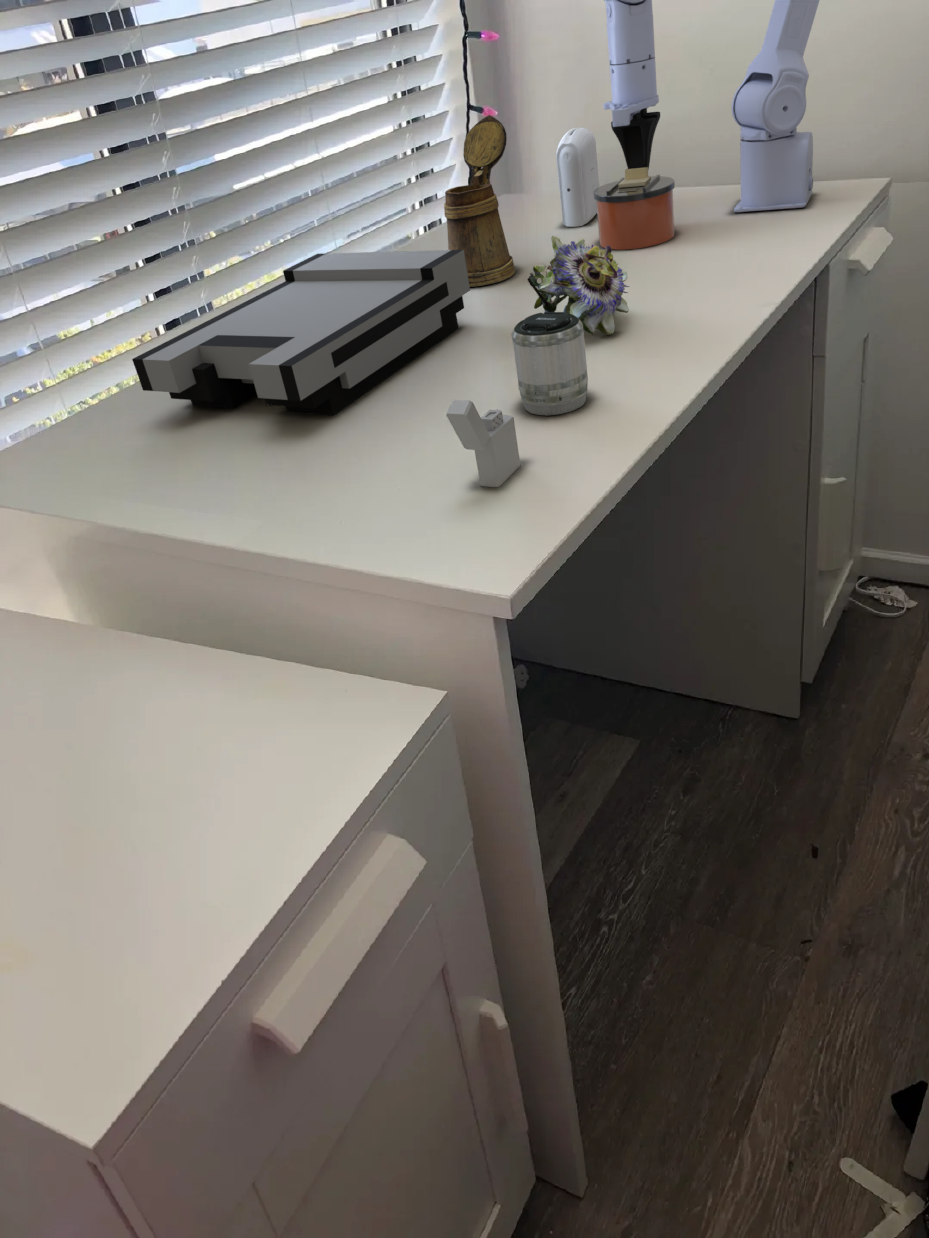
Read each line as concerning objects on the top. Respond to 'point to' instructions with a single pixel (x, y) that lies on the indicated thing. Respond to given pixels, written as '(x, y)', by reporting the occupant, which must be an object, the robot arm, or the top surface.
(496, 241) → the wooden mug
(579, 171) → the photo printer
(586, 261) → the passion flower
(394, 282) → the game console
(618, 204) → the orange lidded canister
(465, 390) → the top surface
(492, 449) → the lighter
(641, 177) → the slider
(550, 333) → the camera lens
